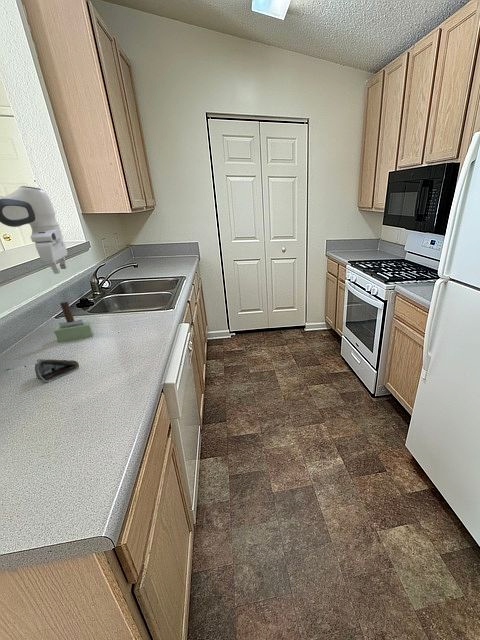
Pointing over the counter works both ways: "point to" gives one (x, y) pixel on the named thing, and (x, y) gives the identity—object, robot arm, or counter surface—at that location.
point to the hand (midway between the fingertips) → (60, 270)
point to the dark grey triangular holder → (54, 368)
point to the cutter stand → (73, 332)
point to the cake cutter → (69, 316)
